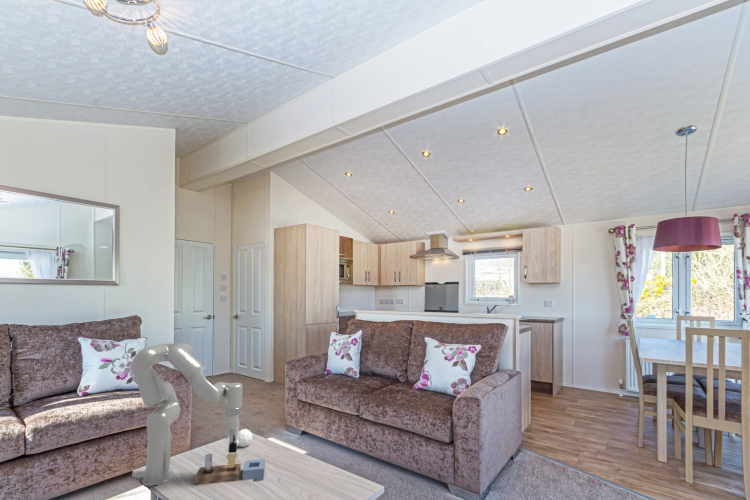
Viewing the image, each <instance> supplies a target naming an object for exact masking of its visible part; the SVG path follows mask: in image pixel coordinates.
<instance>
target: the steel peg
mask: <svg viewBox="0 0 750 500" xmlns="http://www.w3.org/2000/svg"><path fill="white" fill-rule="evenodd" d="M212 466H213V453H208V454H205V456H204V467H205V474H209V473H212Z"/></svg>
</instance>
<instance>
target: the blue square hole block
mask: <svg viewBox="0 0 750 500" xmlns="http://www.w3.org/2000/svg"><path fill="white" fill-rule="evenodd" d="M265 462H266V461H265V458H264V459H263V458H261V459H260V458H259V459H252V460H245V461H244V464H243V469H242V481H247V480H252V482H259V481H264V478H265V470H266V469H265V466H266V465H265V464H266V463H265Z"/></svg>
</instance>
